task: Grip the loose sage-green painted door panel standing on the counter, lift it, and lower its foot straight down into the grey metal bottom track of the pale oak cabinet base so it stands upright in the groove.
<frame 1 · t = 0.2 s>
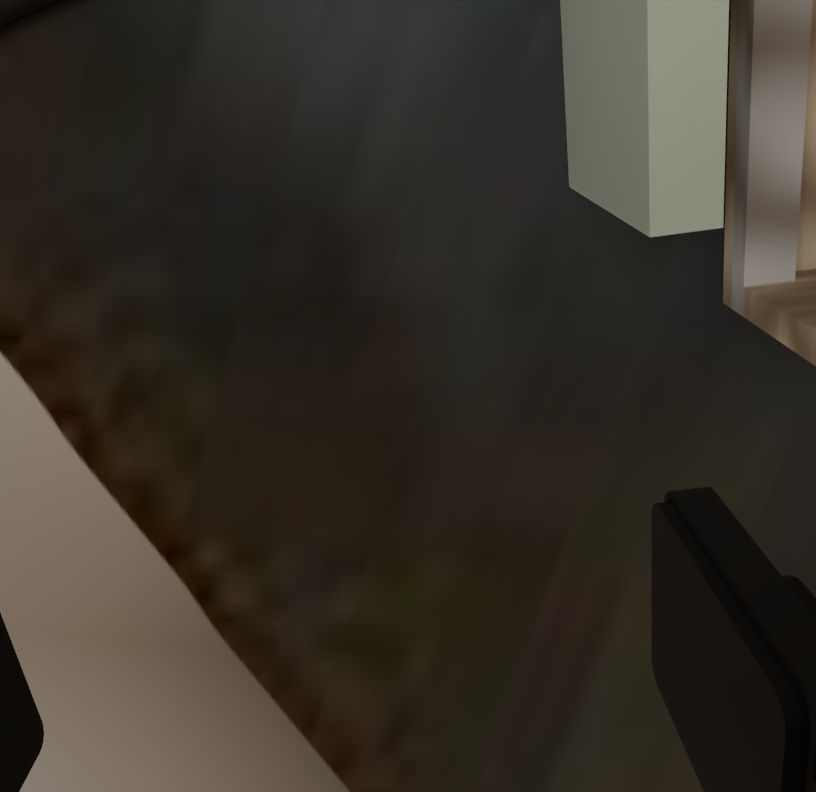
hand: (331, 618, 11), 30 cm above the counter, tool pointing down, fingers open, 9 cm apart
door panel: (589, 52, 36), on the counter
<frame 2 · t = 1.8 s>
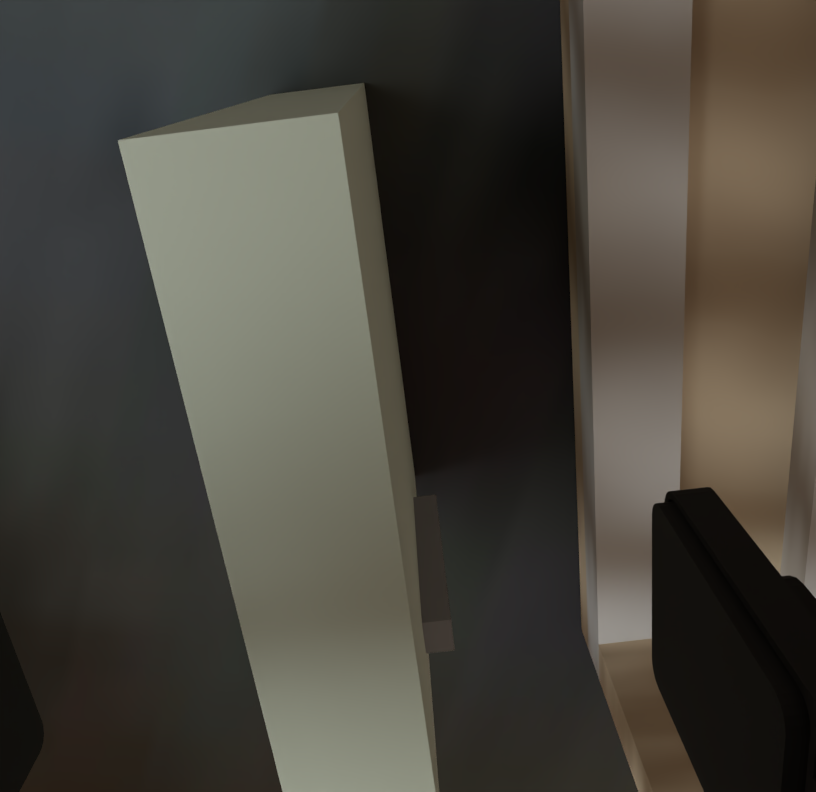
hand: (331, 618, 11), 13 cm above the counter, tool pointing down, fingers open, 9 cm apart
door panel: (350, 304, 23), on the counter
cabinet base: (722, 260, 23), on the counter
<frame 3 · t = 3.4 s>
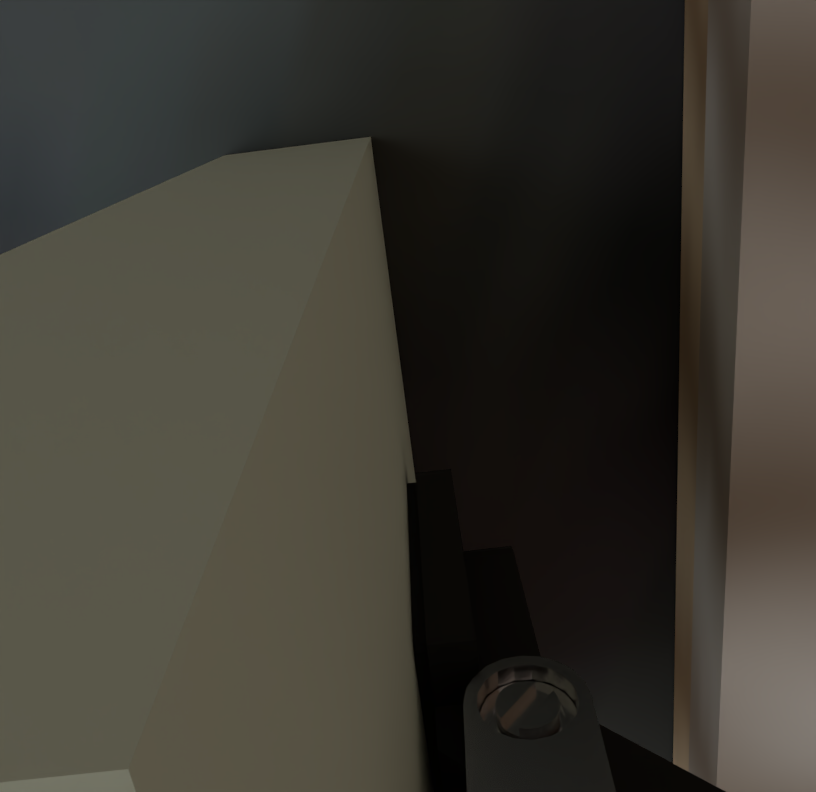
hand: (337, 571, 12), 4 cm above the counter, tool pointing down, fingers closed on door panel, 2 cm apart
door panel: (349, 461, 15), on the counter, touching gripper
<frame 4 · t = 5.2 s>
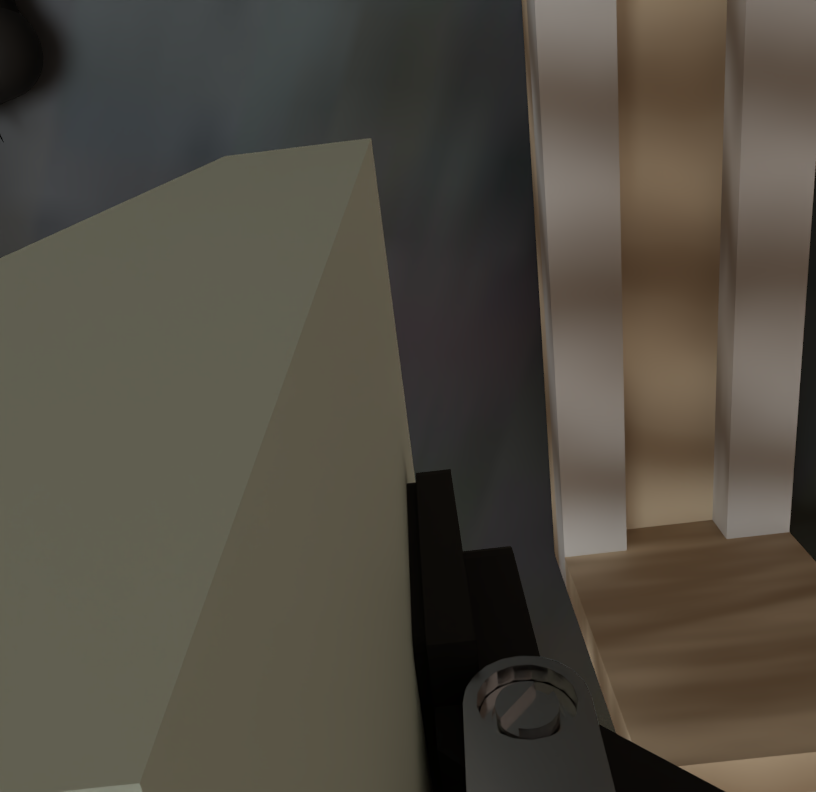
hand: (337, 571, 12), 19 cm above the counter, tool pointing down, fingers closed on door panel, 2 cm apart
door panel: (349, 462, 15), point 15 cm above the counter, touching gripper
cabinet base: (656, 248, 29), on the counter
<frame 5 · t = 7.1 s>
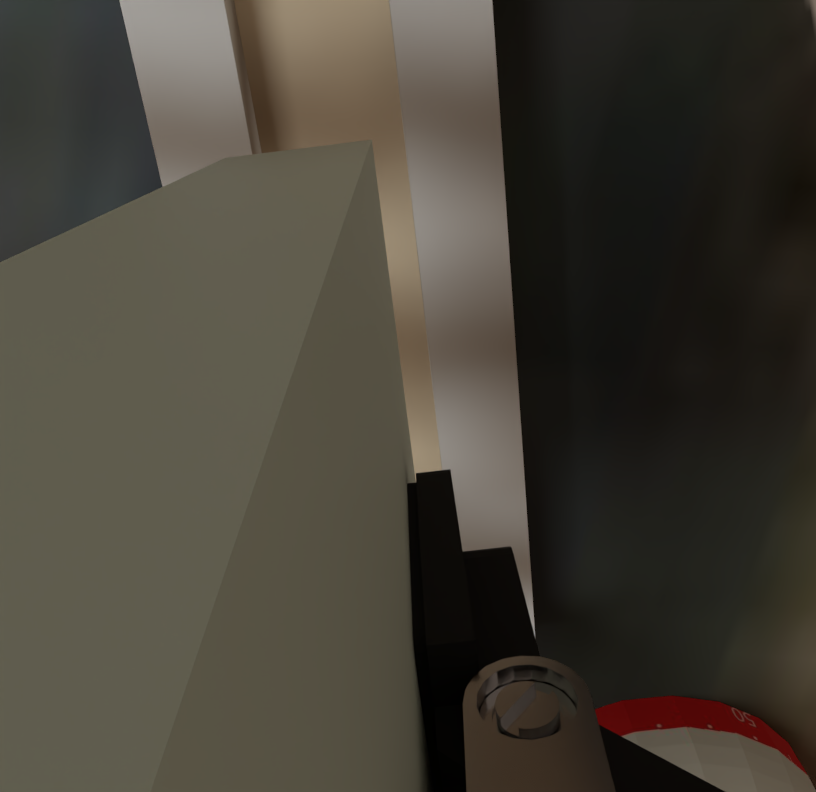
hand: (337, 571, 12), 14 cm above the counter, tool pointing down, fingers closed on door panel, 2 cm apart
door panel: (349, 463, 15), point 10 cm above the counter, touching gripper
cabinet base: (359, 312, 25), on the counter
when the fingers open (6 cm above the counter, at t = 8.7 s): door panel stays where it is, resting on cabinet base.
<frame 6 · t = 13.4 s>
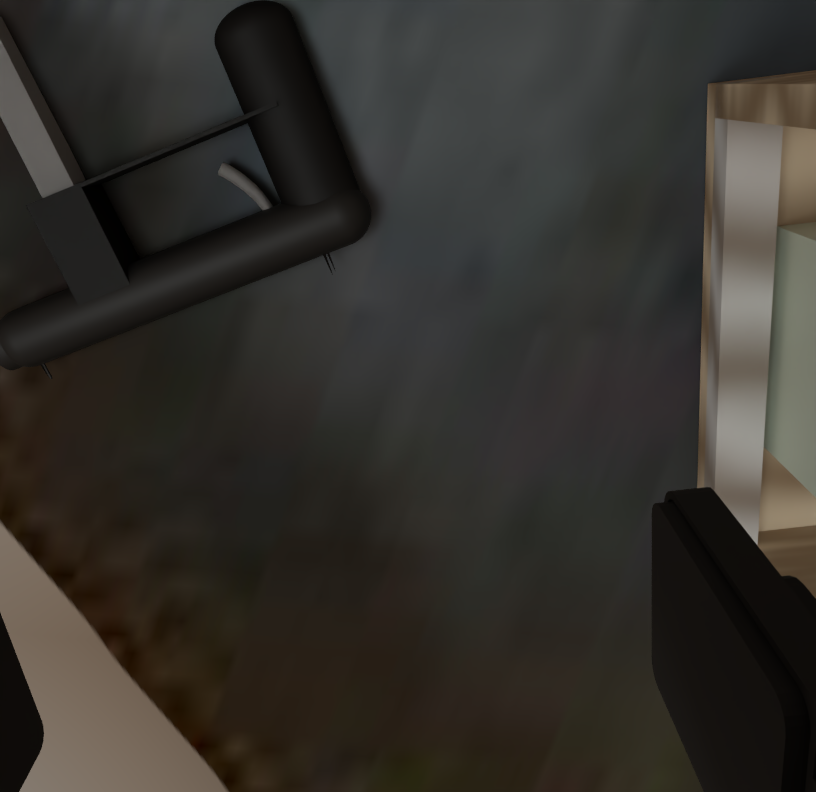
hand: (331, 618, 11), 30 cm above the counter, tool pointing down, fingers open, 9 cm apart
door panel: (793, 339, 40), point 1 cm above the counter, touching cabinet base
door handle: (139, 165, 38), on the counter
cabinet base: (785, 334, 41), on the counter
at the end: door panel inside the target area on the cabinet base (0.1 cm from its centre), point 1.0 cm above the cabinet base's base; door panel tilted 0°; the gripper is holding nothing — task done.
